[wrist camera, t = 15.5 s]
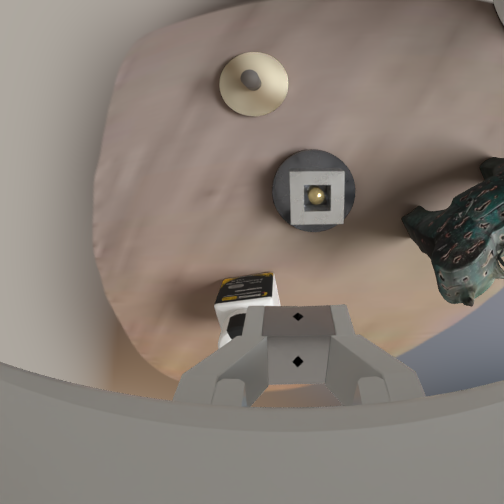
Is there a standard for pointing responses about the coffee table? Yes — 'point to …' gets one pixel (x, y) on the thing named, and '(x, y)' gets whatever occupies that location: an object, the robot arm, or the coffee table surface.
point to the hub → (311, 192)
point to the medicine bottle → (242, 302)
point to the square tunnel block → (317, 213)
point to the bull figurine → (465, 237)
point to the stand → (253, 84)
